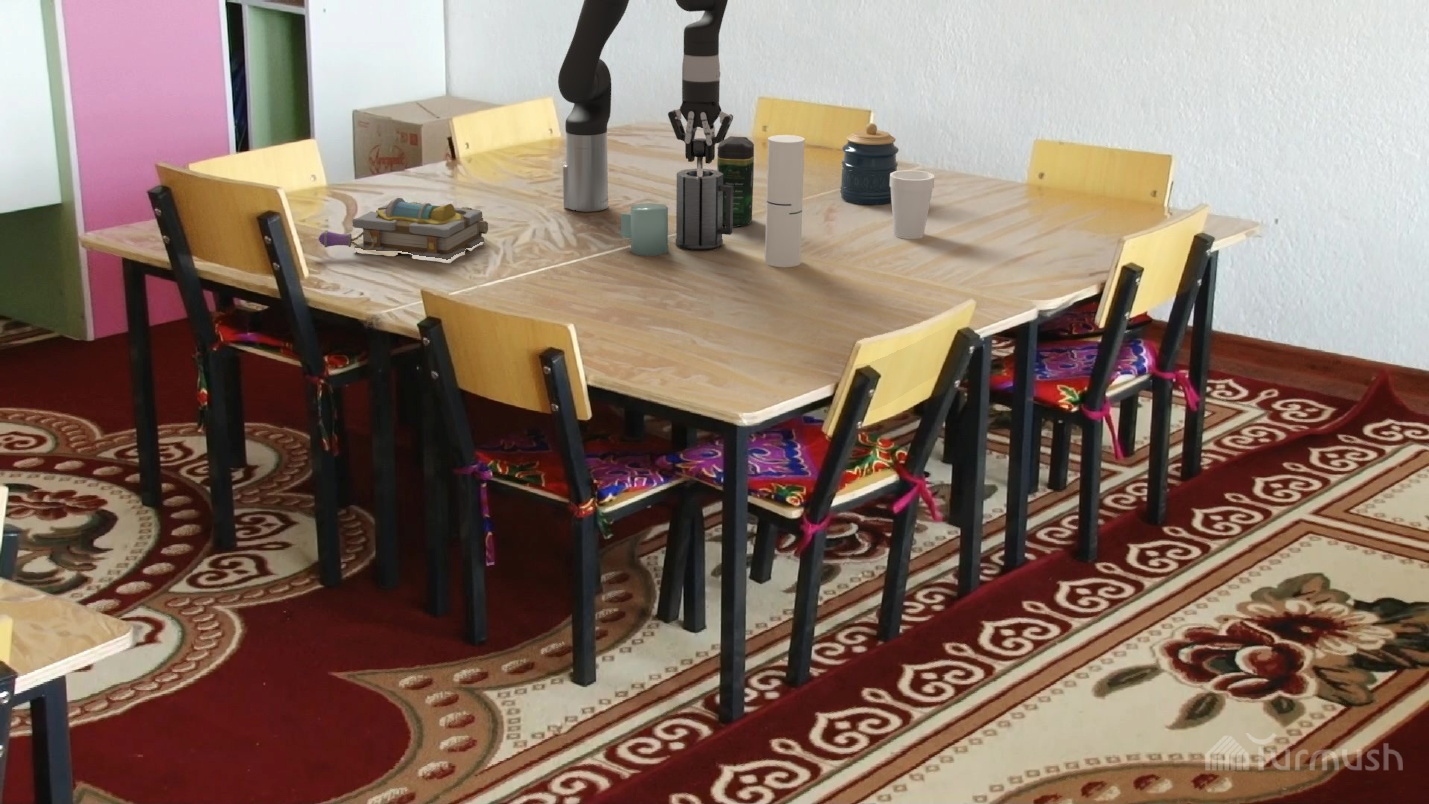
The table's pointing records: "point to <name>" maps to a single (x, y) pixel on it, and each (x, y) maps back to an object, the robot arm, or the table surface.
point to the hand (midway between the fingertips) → (700, 161)
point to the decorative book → (415, 229)
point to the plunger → (699, 153)
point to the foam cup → (910, 202)
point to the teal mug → (646, 229)
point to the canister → (868, 166)
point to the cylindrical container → (784, 200)
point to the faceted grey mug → (702, 210)
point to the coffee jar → (737, 176)
